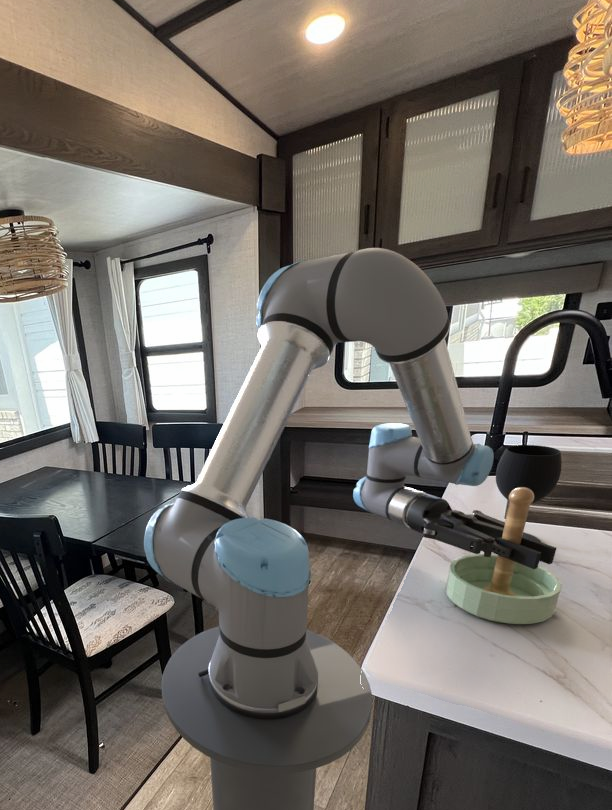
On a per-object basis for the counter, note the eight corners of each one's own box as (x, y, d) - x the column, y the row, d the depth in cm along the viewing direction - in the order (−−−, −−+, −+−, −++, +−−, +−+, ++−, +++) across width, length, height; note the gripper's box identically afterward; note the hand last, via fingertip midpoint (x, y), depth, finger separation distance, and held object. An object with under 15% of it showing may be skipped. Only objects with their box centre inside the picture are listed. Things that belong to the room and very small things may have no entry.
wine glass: (475, 542, 102) (494, 452, 94) (490, 527, 108) (509, 441, 100) (534, 555, 95) (559, 459, 86) (546, 538, 101) (571, 447, 93)
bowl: (467, 627, 76) (473, 598, 73) (432, 580, 90) (436, 554, 87) (574, 629, 73) (584, 599, 71) (521, 580, 87) (528, 553, 85)
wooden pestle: (489, 604, 79) (515, 492, 71) (477, 591, 83) (500, 483, 75) (518, 605, 79) (547, 491, 70) (504, 591, 83) (531, 482, 74)
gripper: (446, 521, 96) (573, 568, 76) (386, 537, 92) (503, 592, 71) (452, 486, 93) (586, 525, 73) (390, 501, 89) (514, 548, 68)
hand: (545, 558), depth 72 cm, fingers closed on wooden pestle, 3 cm apart
